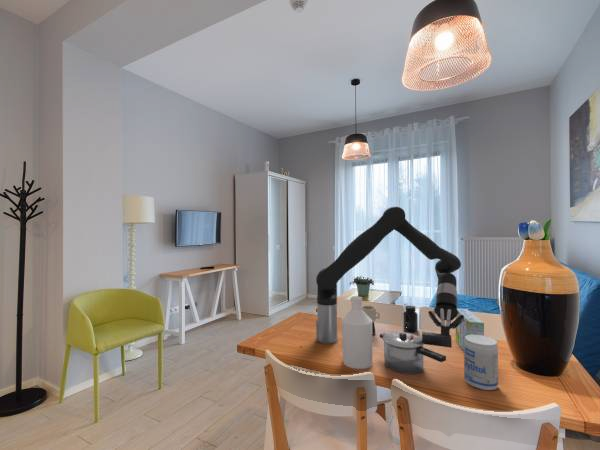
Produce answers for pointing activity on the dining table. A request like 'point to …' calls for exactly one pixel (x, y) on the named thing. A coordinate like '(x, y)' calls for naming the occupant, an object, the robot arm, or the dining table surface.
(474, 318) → the snack box
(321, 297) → the robot arm
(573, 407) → the dining table surface
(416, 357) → the pot
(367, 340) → the bottle
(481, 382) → the supplement tub
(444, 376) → the dining table surface
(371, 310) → the character mug
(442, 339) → the lid
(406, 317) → the supplement bottle
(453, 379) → the dining table surface
